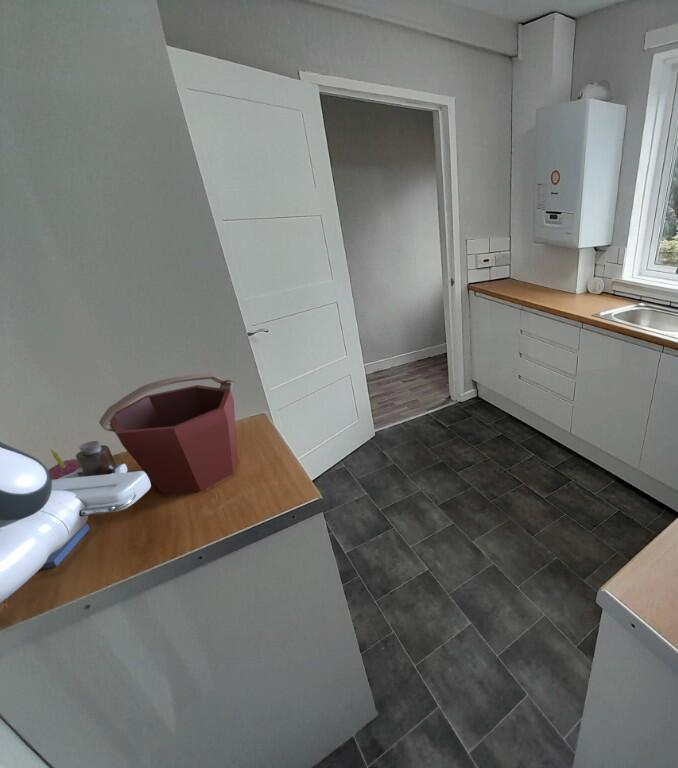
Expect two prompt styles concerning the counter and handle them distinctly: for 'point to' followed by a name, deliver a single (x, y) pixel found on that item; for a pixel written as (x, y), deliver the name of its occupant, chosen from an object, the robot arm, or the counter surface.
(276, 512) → the counter surface
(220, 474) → the bucket
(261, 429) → the counter surface
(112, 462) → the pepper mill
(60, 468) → the cupcake
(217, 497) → the counter surface
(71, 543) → the blue stick
